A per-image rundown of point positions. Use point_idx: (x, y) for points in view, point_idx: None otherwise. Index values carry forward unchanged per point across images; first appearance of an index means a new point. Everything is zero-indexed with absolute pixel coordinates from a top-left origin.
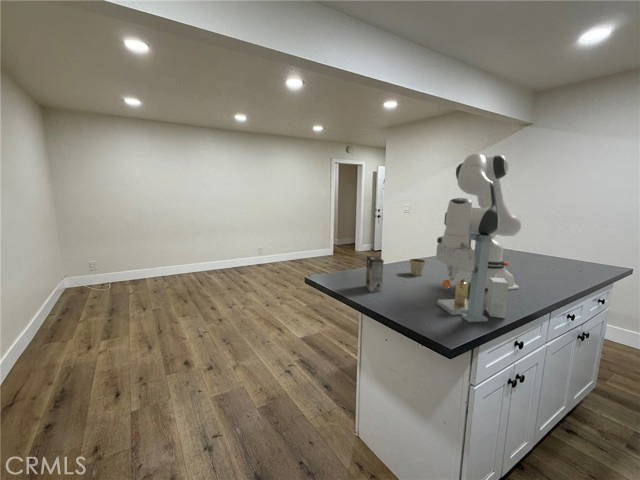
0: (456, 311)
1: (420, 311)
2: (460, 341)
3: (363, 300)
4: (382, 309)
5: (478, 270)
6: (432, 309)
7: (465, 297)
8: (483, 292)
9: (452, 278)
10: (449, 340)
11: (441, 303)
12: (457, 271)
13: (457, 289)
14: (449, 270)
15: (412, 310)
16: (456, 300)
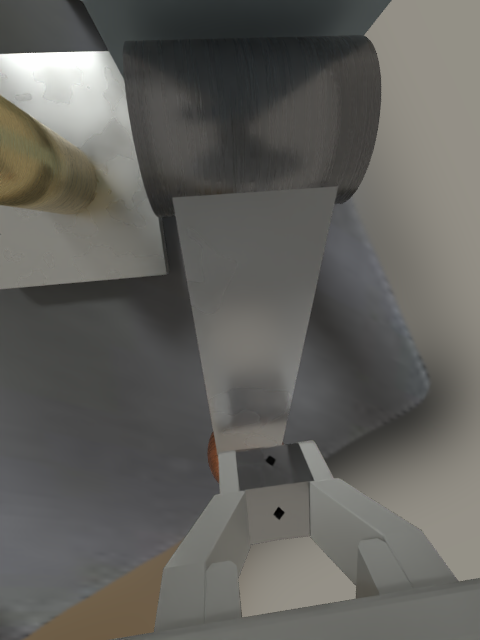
0: (163, 249)
1: (137, 401)
2: (399, 345)
3: (40, 588)
4: (132, 534)
5: (374, 13)
6: (105, 339)
7: (67, 150)
8: None
9: (254, 443)
10: (387, 378)
11: (49, 283)
12: (389, 526)
13: (14, 202)
14: (241, 567)
15: (129, 430)
16: (64, 210)
